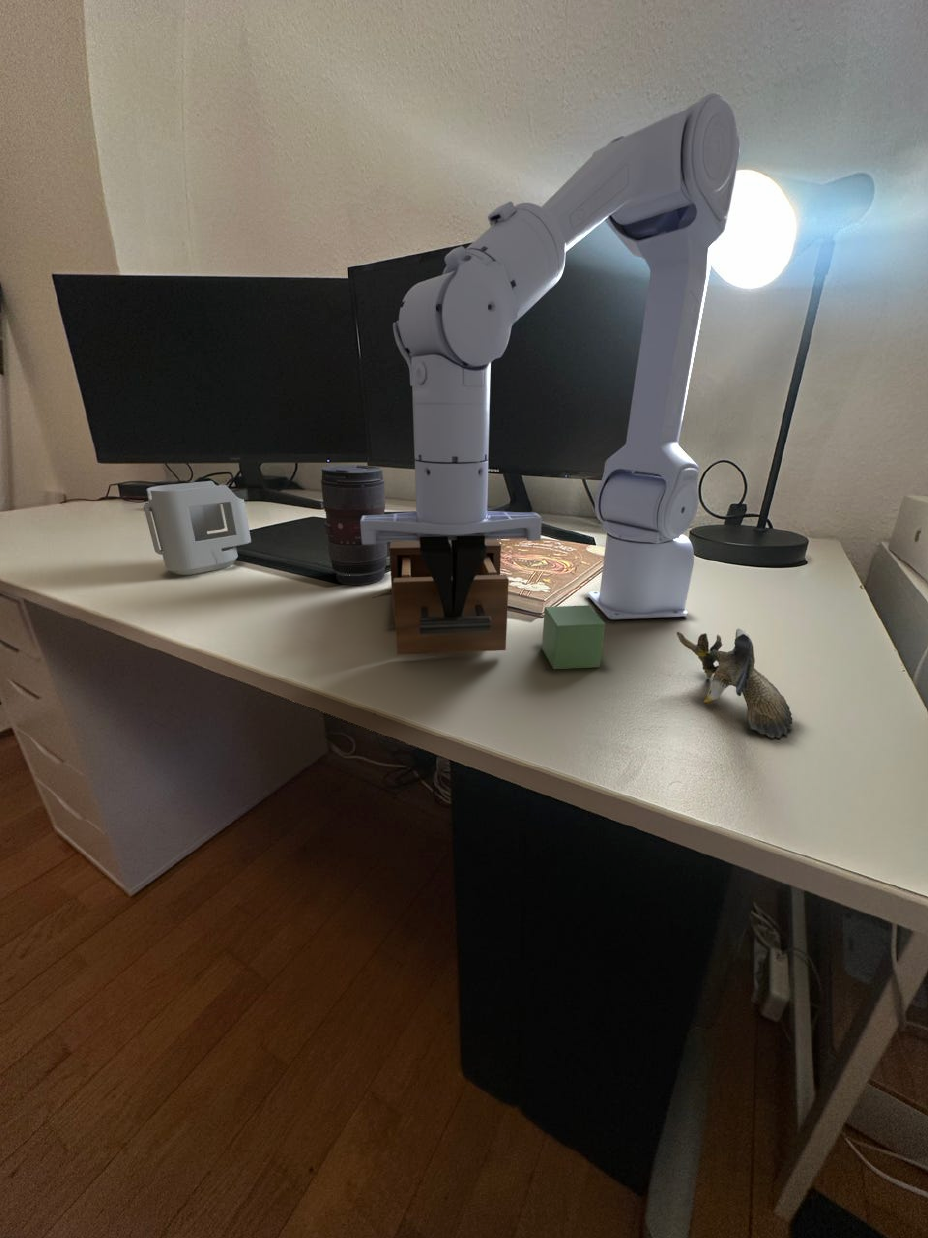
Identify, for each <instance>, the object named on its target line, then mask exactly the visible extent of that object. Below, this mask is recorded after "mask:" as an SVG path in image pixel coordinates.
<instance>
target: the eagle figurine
mask: <svg viewBox="0 0 928 1238" xmlns="http://www.w3.org/2000/svg"><path fill="white" fill-rule="evenodd" d="M676 635H677V638H678V640H679V642H680V643H681V644H682V645H683V646H684V647H686V648H687V649H689V650H691V651H692V652H693V653H694V654H695V655H696V656H697V658H698V659H699V661H700V662H701V665H702V670H703V671H704V672H703V673H704V674H705V675H706V678H708V679H711V678H712V681H711V684H710V686H709V689H708V693H707V696H706V698H705V699H703V703H705V704H709V703H710V702H711V701H713V700H717V699H719V698H720V697H721V696H722V694H723V693H724V691H725V689H727V688H728V687H729V686H732V687H735V693H736V695H737V696H738V697H742V695H743V698H744V700H745V703H746V706H747V717H748V718H747V719H748V724H749V728H750V729H751V730H755V731H757V733H758V734H759V735H766V736H767V737H769V738H771V739H774V738H777V739H780V738H782V736H783V735H787V734H788V730H791V728H792V727H791V725H793V717H792V716H793V714H792V712H791V710H790V706H789V705H788V704H787V701H786V699H785V697H784V696H783V695H782V693H781V692H780V691H779V690H778V688H777V687H776V686H775V685H774V684H773V683H772V682H771V681H770V680H769V679H768V678H766V677H765V675H764V674H762V673H761V672H759V671H758V670H757V669H756V668H755V664H756V663H755V652H754V651H755V649H754V645H753V641H752V638H750V635H749V634H748V633H747V631H745V630H744V629H742V628H740V627H738V628H736V630H735V638H734V646H733V649H732V650H729V651H724V650H720V649H721V648H722V647H723V642H722V637H721V635H719V634H717V635H716V640H715V643H714V644H712V646H711V647H710V645H709V639H708V635H707V633H701V634H700V635H699V636H698V638H697V643H696V644H695V643H693V642H692V641H690V640H689V639H688V638H687V637H685V635H684V634H683V633H682V632H681V631H676ZM709 647H710V648H709ZM716 662H717V663H718V665H716V666H715V664H714V663H716Z"/></svg>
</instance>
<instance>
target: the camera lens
mask: <svg viewBox="0 0 928 1238" xmlns="http://www.w3.org/2000/svg"><path fill="white" fill-rule="evenodd" d="M320 485H321V496H322V504H323V511H324V512H325V520H324V532H325V533H326V534H325V535H327V546H328V556H329V559H330V563H331V568H332V570H333V569H334V570H335V571H337V572H339V573H342V574H346V575H350V576H344V577H340V576H338V575H337V574H336V573H335V576H336V580H337V582H338V583H340V584H343V585H349V586H362V585H363V586H364V585H369V584H375V583H377V582H379V581H382V580H383V579H384V578H385V575H386V571H385V569H386V566H387V565H388V542H376V544H368V545H363V544H362V538H361V525H360V520H361V518H362V516H369V515H386V514H385V509H386V489H385V479H384V475H383V469H382V468H381V467H378V466H373V465H372V466H371V465H362V464H361V465H356V464H340V465H339V464H338V465H328V466H323V467H322V468H321V479H320ZM334 570H333V571H334ZM335 571H334V572H335Z"/></svg>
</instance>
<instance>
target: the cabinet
mask: <svg viewBox="0 0 928 1238" xmlns="http://www.w3.org/2000/svg"><path fill="white" fill-rule="evenodd" d="M449 542H450V545H451V540H449ZM485 545H486V547H487V554H488V556H489V558H490V560H491V562H492V564H493V566H494V568H495V570H496V572H497V575H501V560H502V559H501V557H502V545H501V544H500V541H499V539H486V540H485ZM388 550H389V569H390V584H391V600H392V616H393V618H392V619H393V628H394V629H395V630H396V625H395V608H394V592H393V579H394V578H402V559H403V555H421V550H420V542H419V541H400V542H389V548H388ZM451 553H452V549H451Z"/></svg>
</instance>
